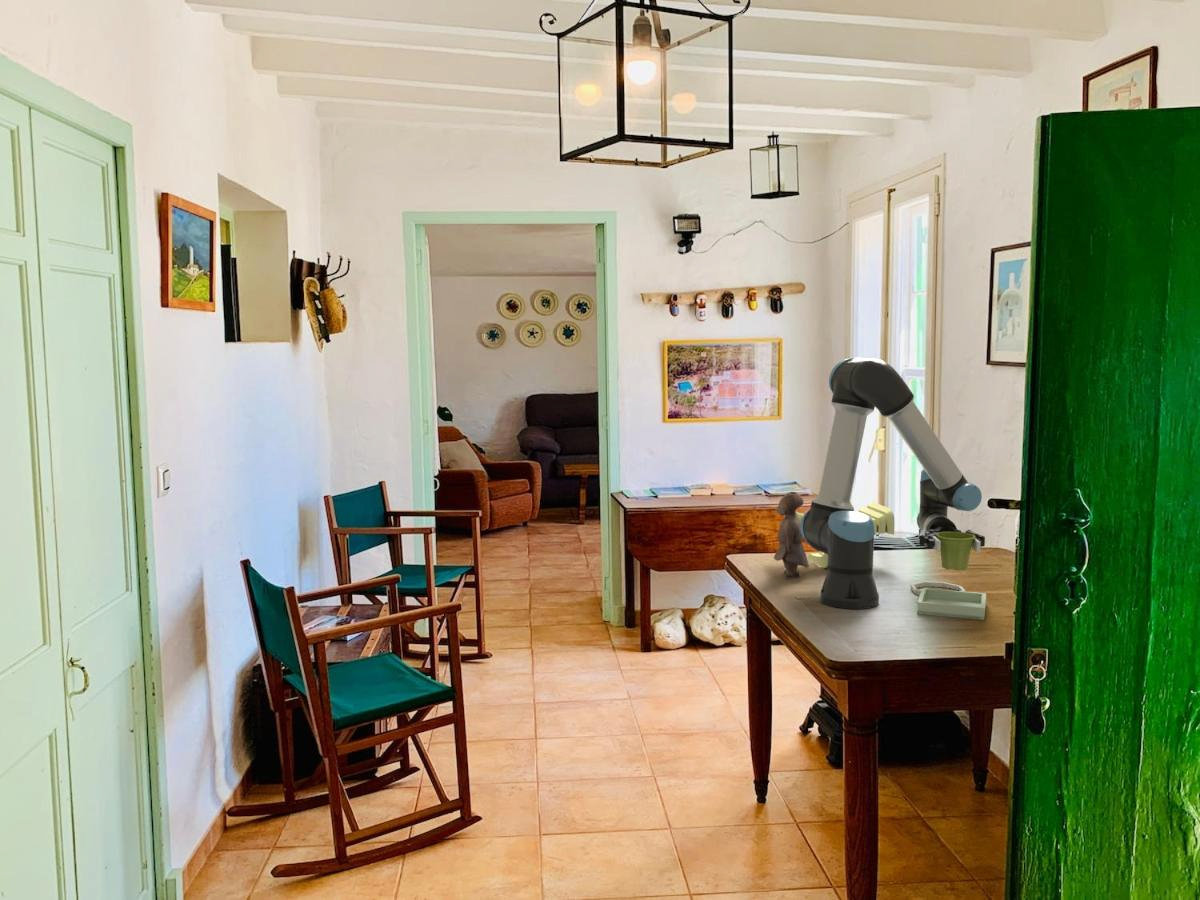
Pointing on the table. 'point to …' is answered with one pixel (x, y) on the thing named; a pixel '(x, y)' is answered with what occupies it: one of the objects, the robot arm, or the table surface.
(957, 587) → the collar ring
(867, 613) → the table surface
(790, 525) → the clay figurine
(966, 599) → the tray
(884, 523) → the slatted curved stool
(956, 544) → the plant pot
